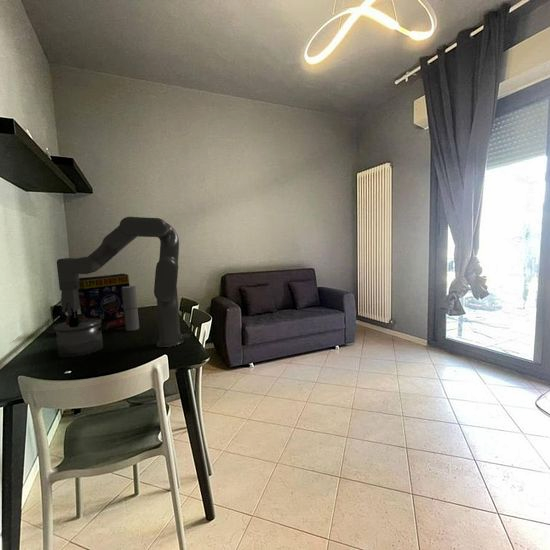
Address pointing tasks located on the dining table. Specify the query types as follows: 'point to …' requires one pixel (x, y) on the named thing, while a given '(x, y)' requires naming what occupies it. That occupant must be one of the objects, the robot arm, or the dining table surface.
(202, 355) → the dining table surface
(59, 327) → the cooker lid
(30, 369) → the dining table surface
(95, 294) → the cereal box
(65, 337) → the cooker pot
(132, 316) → the cylindrical container
